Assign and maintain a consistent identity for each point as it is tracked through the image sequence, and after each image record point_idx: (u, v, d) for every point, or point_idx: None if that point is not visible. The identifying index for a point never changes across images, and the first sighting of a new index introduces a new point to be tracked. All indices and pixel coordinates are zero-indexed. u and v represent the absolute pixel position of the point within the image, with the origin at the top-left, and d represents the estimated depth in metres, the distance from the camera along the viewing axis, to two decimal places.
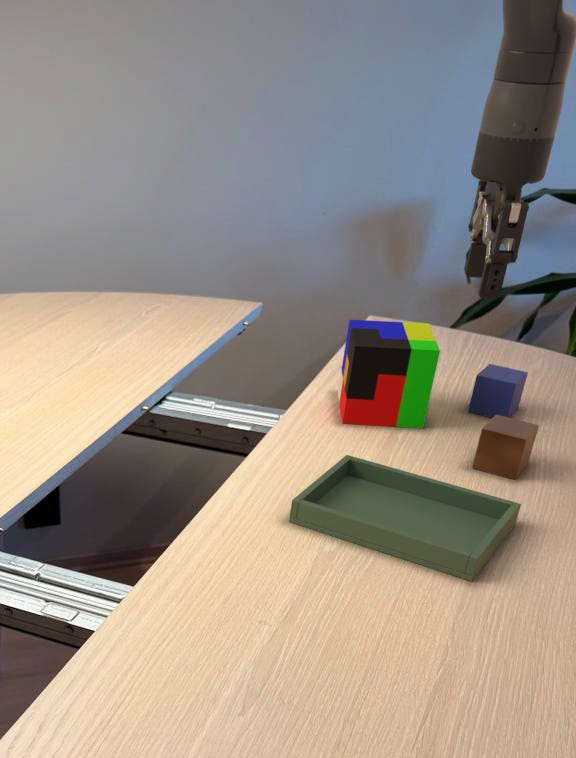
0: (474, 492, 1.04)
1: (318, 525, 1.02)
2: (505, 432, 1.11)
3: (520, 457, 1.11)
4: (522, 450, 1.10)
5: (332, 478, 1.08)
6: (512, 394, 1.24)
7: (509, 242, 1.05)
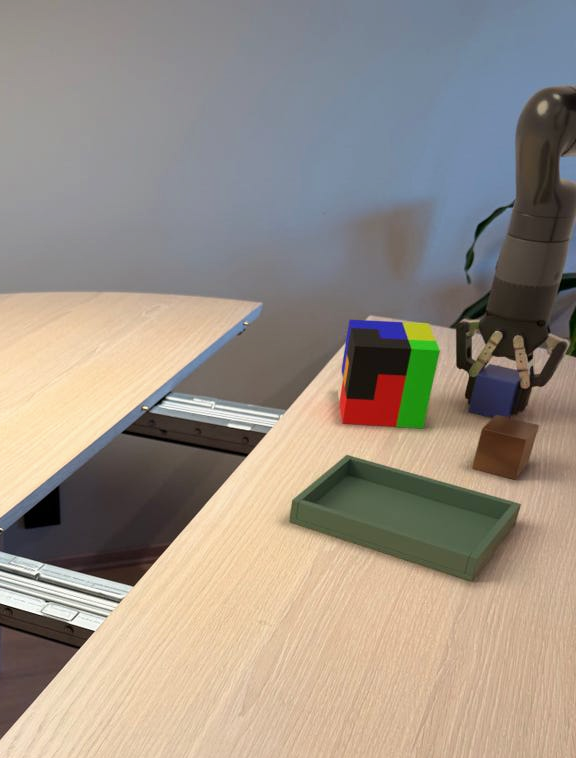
0: (474, 492, 1.04)
1: (318, 525, 1.02)
2: (505, 432, 1.11)
3: (520, 457, 1.11)
4: (522, 450, 1.10)
5: (332, 478, 1.08)
6: (512, 394, 1.24)
7: (532, 366, 1.24)
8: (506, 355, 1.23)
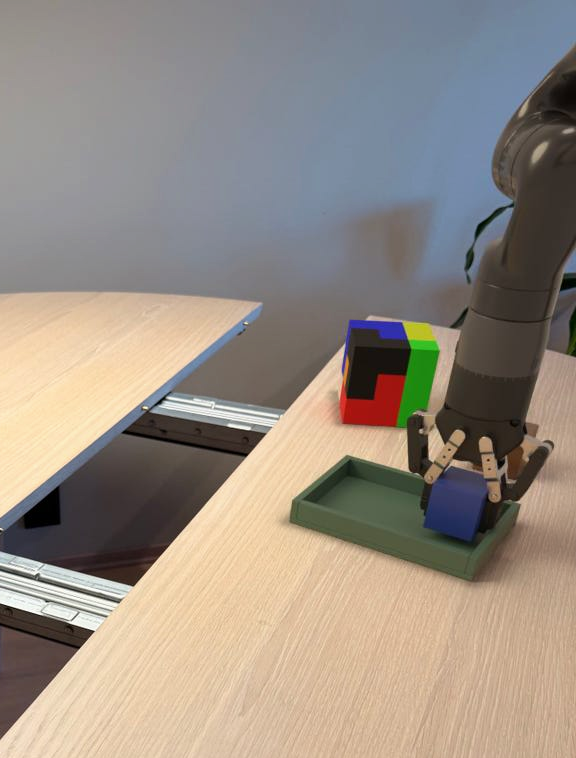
0: None
1: (318, 525, 1.02)
2: None
3: (520, 457, 1.11)
4: (522, 450, 1.10)
5: (332, 478, 1.08)
6: (478, 510, 0.95)
7: (504, 473, 0.96)
8: (471, 459, 0.95)
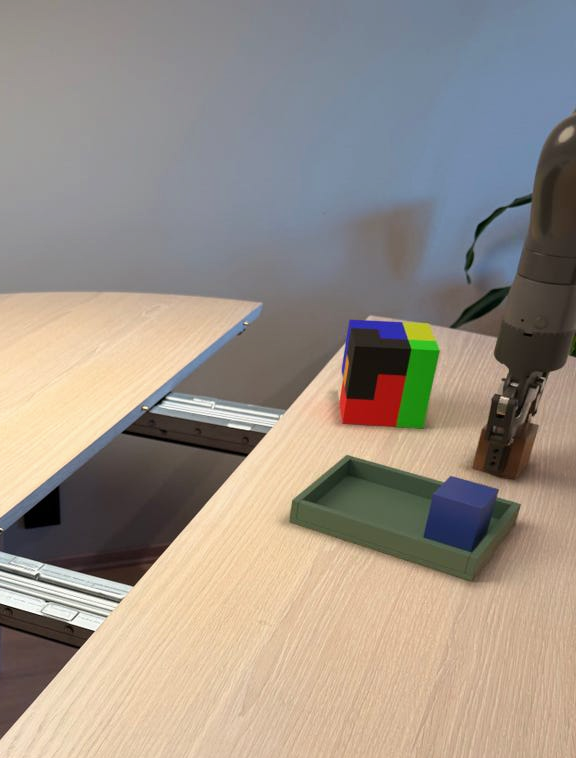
0: None
1: (318, 525, 1.02)
2: None
3: (520, 457, 1.11)
4: (522, 450, 1.10)
5: (332, 478, 1.08)
6: (478, 520, 0.96)
7: None
8: None
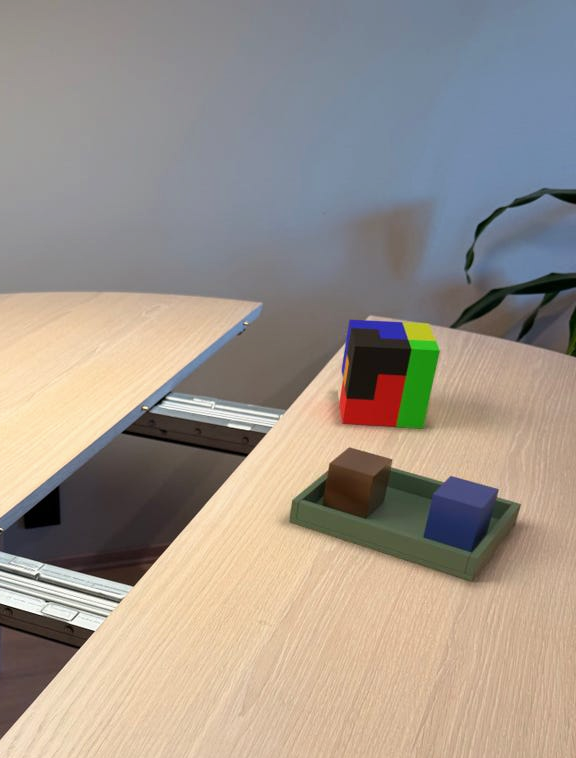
0: None
1: (318, 525, 1.02)
2: (353, 467, 1.02)
3: (369, 495, 1.02)
4: (371, 487, 1.01)
5: None
6: (478, 520, 0.96)
7: None
8: None
